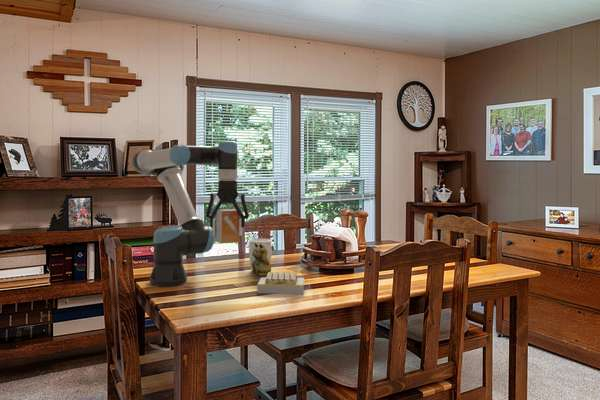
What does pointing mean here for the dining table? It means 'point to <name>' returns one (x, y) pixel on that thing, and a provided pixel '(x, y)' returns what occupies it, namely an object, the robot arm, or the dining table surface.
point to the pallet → (281, 278)
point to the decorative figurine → (260, 262)
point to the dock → (281, 287)
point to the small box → (227, 226)
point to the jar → (259, 241)
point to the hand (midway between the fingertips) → (227, 235)
